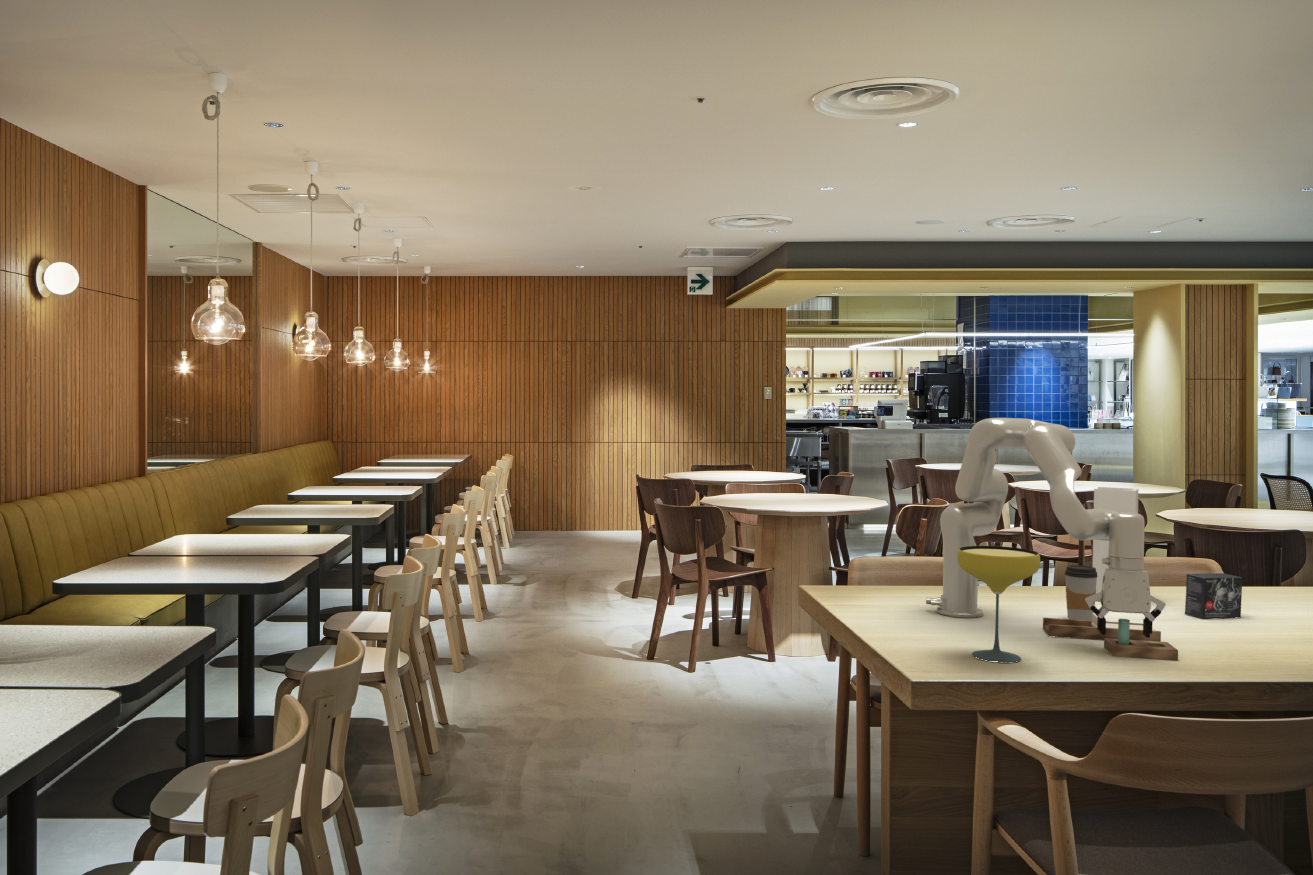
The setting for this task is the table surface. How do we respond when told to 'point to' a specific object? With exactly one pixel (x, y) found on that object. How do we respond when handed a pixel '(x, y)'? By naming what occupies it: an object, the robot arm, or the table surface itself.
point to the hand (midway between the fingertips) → (1124, 634)
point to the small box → (1213, 595)
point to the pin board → (1141, 649)
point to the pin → (1123, 631)
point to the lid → (1110, 625)
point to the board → (1090, 630)
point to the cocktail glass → (998, 580)
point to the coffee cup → (1080, 591)
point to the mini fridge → (1117, 502)
